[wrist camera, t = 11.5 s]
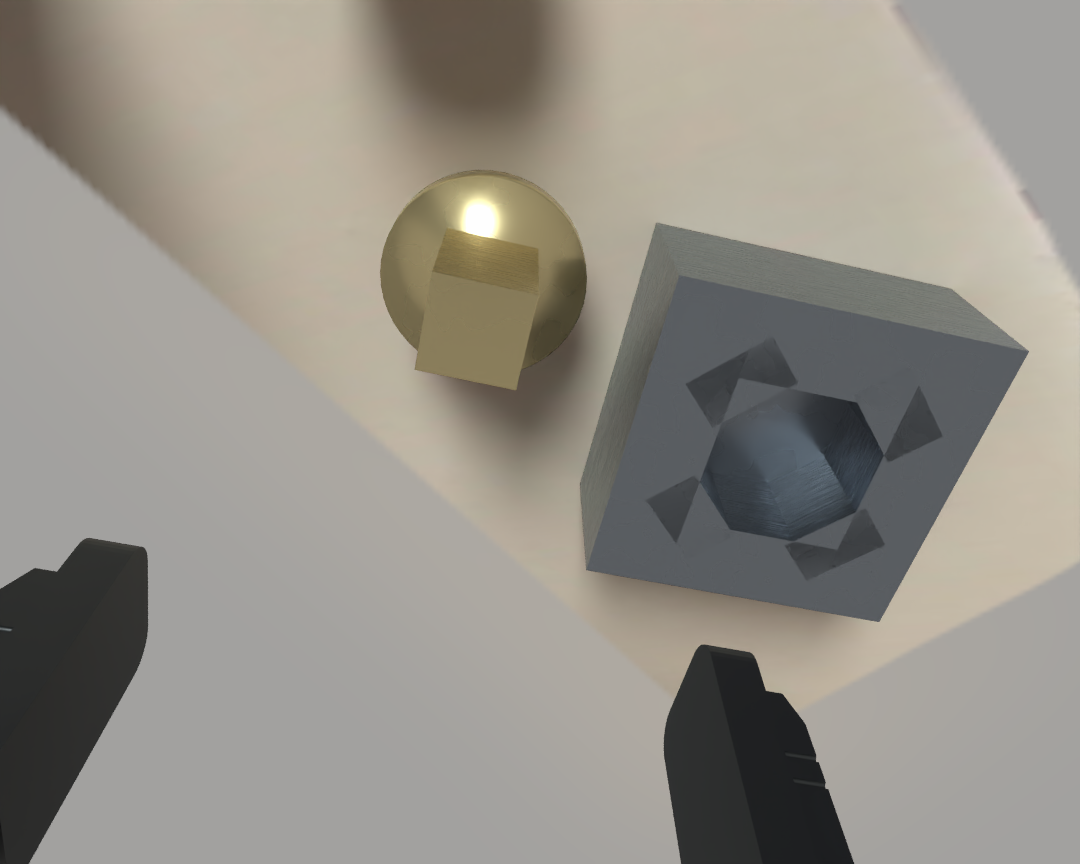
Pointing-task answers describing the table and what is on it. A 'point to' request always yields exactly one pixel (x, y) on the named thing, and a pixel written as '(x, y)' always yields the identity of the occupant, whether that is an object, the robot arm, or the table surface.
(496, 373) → the end cover
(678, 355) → the housing
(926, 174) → the table surface
